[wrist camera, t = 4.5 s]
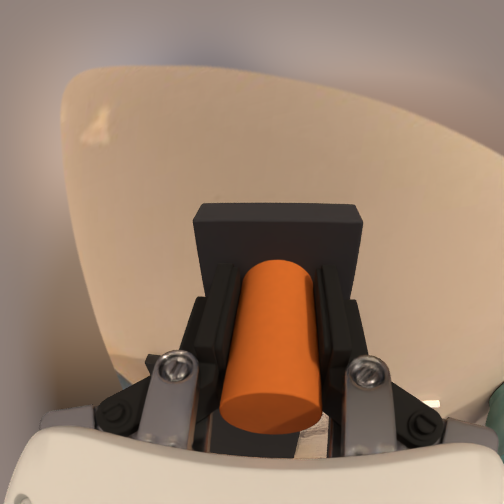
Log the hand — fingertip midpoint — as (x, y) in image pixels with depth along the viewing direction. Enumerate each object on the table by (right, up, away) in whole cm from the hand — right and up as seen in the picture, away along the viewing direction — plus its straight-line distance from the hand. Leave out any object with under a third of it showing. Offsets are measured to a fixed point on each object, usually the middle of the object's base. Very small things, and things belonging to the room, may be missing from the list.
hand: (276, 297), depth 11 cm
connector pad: (0, +1, +2) cm, 2 cm away
